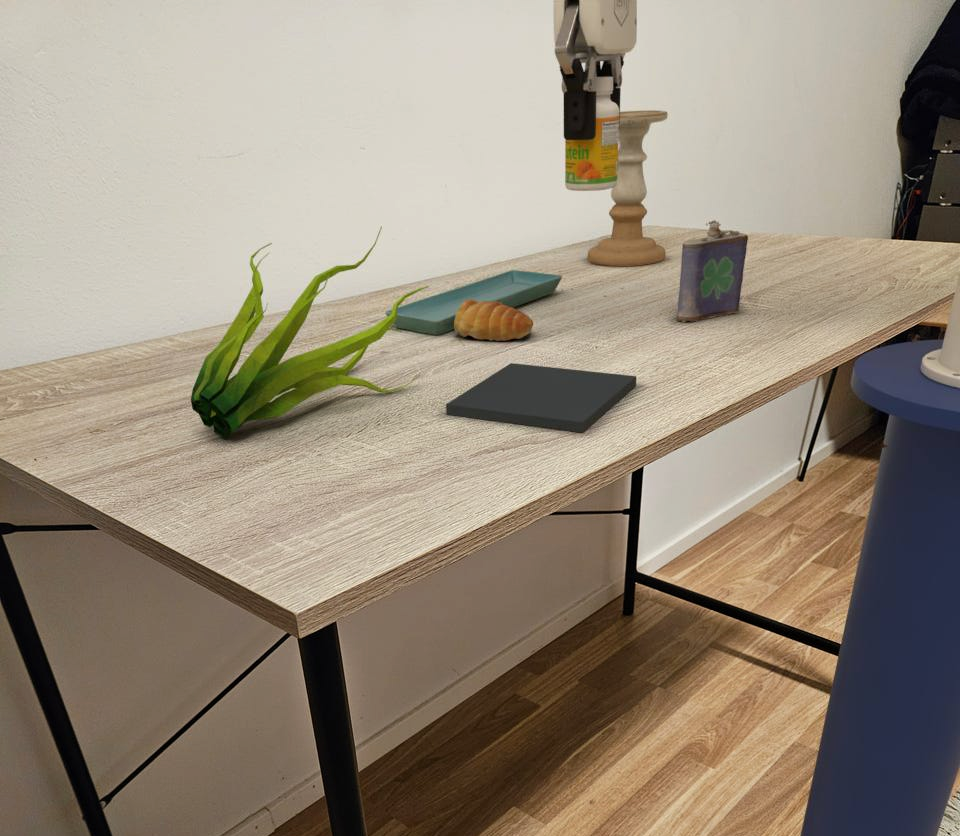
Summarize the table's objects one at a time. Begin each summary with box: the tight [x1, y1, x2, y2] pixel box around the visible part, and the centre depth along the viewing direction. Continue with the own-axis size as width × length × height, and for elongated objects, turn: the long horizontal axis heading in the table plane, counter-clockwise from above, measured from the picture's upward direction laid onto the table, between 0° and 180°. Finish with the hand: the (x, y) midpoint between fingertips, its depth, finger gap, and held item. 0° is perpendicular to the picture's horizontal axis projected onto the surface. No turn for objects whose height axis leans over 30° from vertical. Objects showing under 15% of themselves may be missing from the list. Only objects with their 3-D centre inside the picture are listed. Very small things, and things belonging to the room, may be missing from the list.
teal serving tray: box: [385, 269, 563, 336], centre depth 118 cm, size 26×9×2 cm, turn 140°
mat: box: [445, 362, 637, 434], centre depth 87 cm, size 14×14×1 cm
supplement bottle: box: [564, 77, 619, 192], centre depth 90 cm, size 5×5×10 cm
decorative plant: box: [190, 226, 430, 440], centre depth 88 cm, size 18×30×15 cm, turn 125°
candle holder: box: [587, 109, 669, 267], centre depth 137 cm, size 12×12×20 cm
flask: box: [676, 219, 749, 323], centre depth 108 cm, size 9×3×11 cm, turn 117°
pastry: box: [454, 299, 534, 342], centre depth 107 cm, size 9×7×4 cm
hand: (592, 134), depth 90 cm, fingers closed on supplement bottle, 5 cm apart
